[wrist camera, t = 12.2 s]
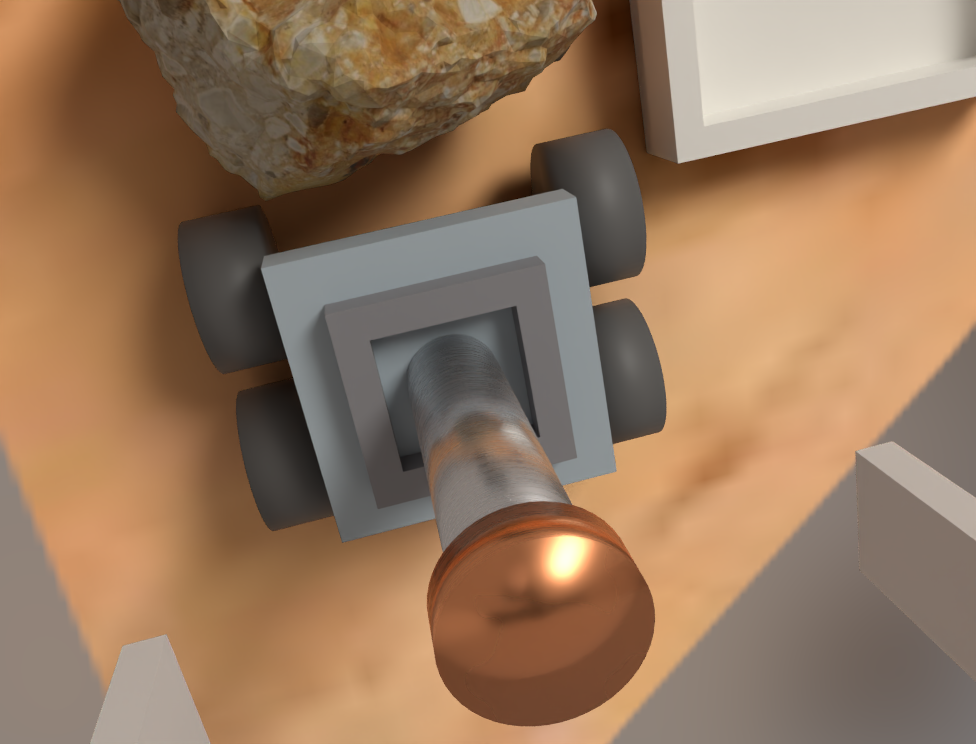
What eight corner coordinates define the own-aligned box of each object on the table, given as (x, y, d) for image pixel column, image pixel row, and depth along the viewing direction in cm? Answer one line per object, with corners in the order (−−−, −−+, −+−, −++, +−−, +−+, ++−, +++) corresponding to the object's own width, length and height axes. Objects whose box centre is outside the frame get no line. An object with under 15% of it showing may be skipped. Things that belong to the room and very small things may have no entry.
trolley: (191, 208, 29) (150, 263, 22) (588, 122, 31) (669, 146, 24) (280, 487, 34) (270, 608, 26) (626, 400, 35) (704, 493, 28)
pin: (377, 332, 25) (413, 568, 14) (505, 305, 25) (643, 513, 14) (403, 449, 26) (456, 749, 15) (525, 421, 27) (664, 695, 16)
